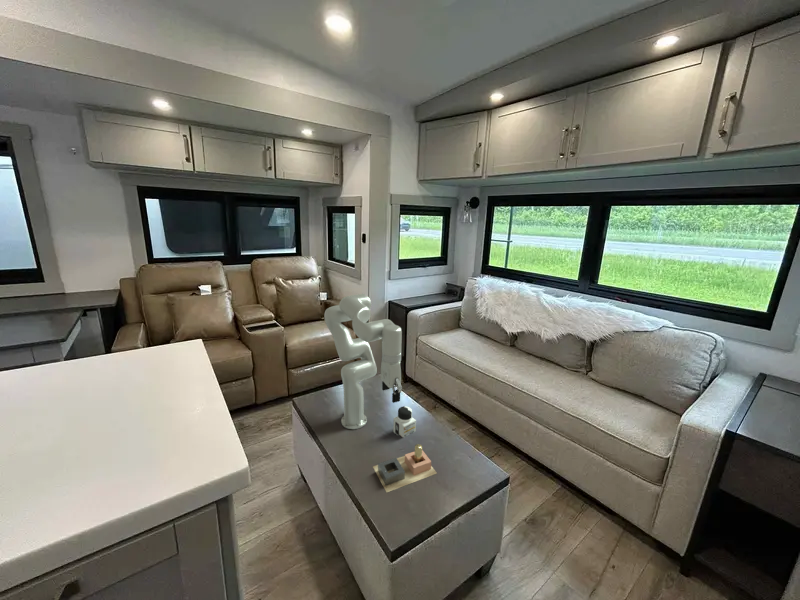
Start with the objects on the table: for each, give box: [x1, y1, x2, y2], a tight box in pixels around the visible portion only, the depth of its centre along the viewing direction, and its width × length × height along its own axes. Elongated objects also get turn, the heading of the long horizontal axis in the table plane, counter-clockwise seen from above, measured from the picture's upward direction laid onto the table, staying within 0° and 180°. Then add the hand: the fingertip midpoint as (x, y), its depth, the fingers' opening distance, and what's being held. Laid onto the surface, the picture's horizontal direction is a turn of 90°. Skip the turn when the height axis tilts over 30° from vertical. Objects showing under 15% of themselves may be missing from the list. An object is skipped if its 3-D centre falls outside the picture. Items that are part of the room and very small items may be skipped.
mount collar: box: [377, 457, 405, 485], centre depth 130 cm, size 8×8×4 cm
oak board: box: [372, 455, 438, 493], centre depth 133 cm, size 14×22×2 cm, turn 116°
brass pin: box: [414, 443, 423, 463], centre depth 134 cm, size 3×3×9 cm
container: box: [392, 405, 417, 439], centre depth 155 cm, size 8×8×13 cm
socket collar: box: [404, 449, 432, 475], centre depth 135 cm, size 8×8×4 cm
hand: (390, 395), depth 133 cm, fingers open, 9 cm apart
